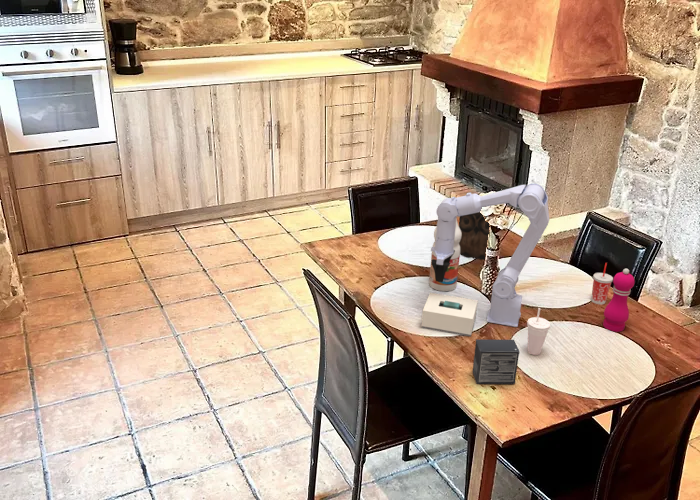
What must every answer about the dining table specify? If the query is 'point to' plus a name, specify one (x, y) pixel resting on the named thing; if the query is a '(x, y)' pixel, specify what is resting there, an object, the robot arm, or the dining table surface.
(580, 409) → the dining table surface
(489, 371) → the small box
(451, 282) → the fruit juice
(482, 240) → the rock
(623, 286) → the pepper mill
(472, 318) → the money box
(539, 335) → the smoothie
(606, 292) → the beverage cup
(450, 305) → the block
